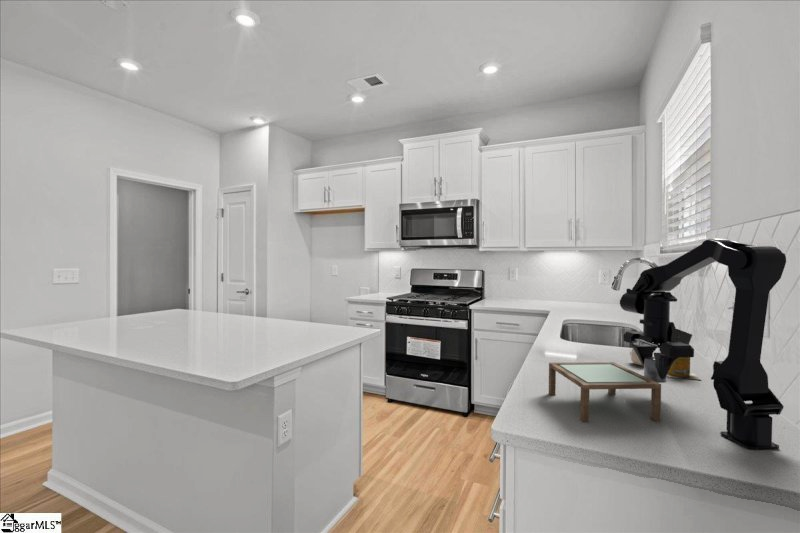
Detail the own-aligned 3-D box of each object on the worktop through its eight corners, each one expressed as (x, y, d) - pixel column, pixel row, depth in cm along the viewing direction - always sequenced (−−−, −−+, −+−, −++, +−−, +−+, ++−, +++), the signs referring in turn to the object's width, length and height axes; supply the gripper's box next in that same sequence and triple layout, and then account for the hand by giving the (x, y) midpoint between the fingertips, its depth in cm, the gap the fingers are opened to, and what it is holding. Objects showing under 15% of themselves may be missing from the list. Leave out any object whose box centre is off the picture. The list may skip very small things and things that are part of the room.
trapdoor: (646, 385, 88) (646, 381, 88) (587, 386, 88) (587, 382, 88) (610, 367, 102) (610, 364, 102) (559, 368, 102) (559, 364, 102)
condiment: (662, 370, 125) (663, 334, 125) (694, 374, 122) (695, 336, 121) (668, 377, 118) (668, 339, 118) (701, 381, 115) (702, 341, 115)
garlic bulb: (625, 363, 133) (625, 340, 133) (636, 361, 136) (637, 339, 136) (644, 368, 127) (644, 344, 127) (656, 366, 130) (656, 343, 130)
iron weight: (671, 382, 98) (671, 361, 98) (652, 382, 98) (653, 361, 98) (657, 376, 103) (657, 356, 103) (639, 376, 103) (639, 356, 103)
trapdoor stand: (660, 421, 87) (661, 384, 86) (583, 422, 86) (583, 385, 86) (612, 392, 105) (613, 362, 104) (548, 393, 104) (549, 362, 104)
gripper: (716, 323, 92) (715, 387, 92) (660, 311, 110) (659, 365, 111) (671, 323, 91) (670, 387, 91) (622, 312, 110) (621, 365, 110)
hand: (655, 375), depth 101 cm, fingers closed on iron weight, 5 cm apart
